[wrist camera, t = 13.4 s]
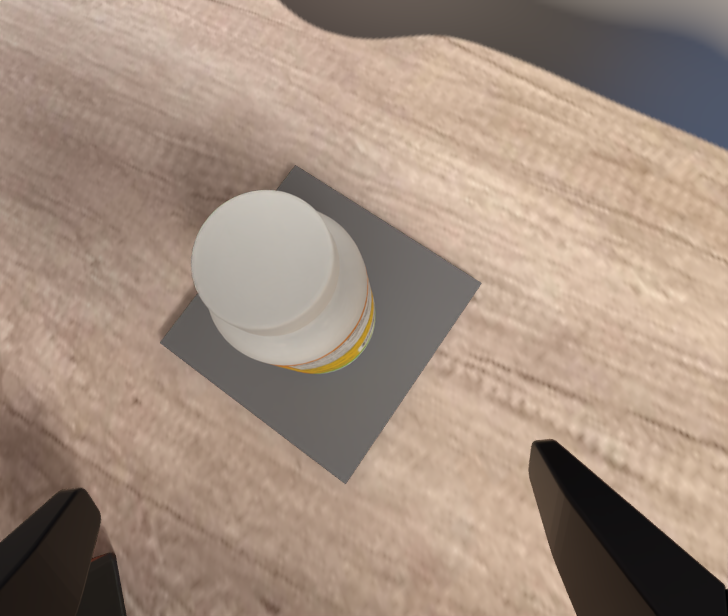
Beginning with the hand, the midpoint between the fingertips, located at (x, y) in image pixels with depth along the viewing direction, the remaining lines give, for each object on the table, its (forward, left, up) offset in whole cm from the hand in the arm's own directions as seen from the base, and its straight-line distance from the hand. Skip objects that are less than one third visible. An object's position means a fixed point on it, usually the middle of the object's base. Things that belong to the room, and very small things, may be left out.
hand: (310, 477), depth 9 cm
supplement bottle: (+3, +5, -12) cm, 13 cm away
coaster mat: (+3, +5, -12) cm, 14 cm away
